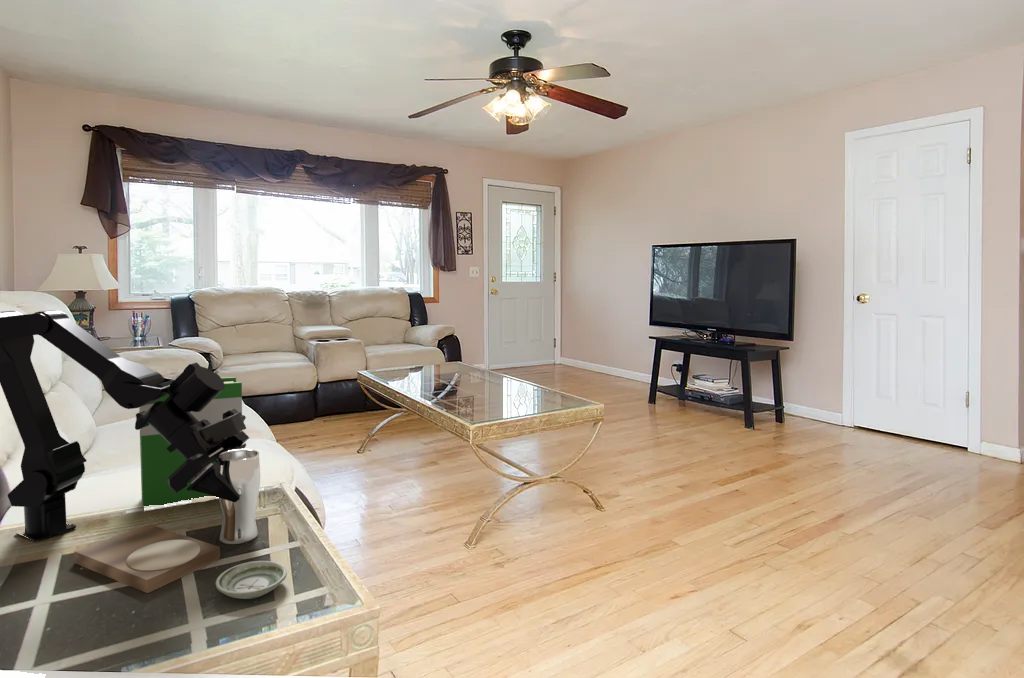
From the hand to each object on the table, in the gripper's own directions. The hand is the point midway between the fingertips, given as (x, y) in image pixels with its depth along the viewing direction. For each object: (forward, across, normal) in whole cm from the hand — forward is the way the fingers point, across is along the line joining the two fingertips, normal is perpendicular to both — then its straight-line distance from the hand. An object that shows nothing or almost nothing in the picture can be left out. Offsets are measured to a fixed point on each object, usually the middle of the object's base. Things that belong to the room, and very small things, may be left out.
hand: (246, 492), depth 103 cm
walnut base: (-2, -9, +14) cm, 17 cm away
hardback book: (-7, +18, +19) cm, 27 cm away
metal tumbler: (+5, 0, +7) cm, 8 cm away
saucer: (+12, -17, 0) cm, 21 cm away
